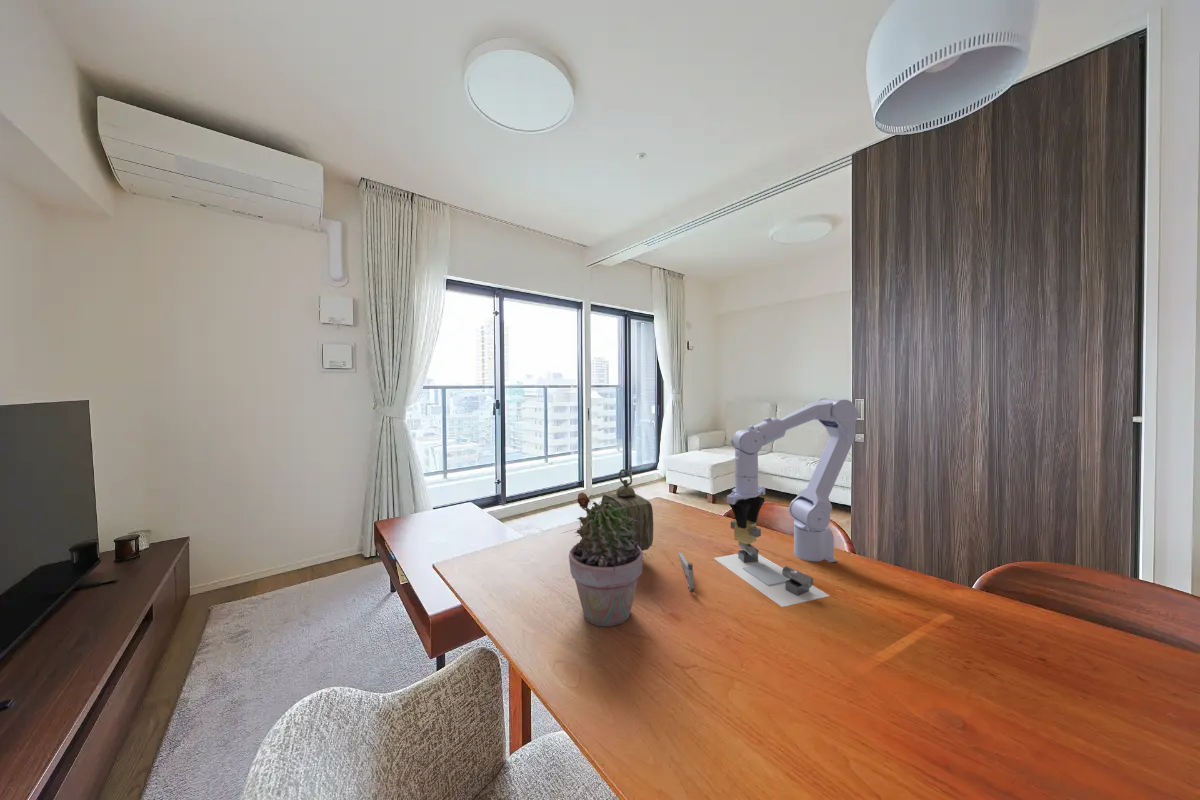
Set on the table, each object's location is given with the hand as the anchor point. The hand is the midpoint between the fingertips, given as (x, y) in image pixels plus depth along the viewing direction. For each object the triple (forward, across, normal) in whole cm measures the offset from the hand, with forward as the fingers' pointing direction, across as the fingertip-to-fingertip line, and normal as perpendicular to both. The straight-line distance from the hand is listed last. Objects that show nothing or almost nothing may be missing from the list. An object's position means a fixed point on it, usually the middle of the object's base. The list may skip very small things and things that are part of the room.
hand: (746, 525), depth 106 cm
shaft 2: (+9, +6, +17) cm, 20 cm away
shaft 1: (+9, +1, +1) cm, 9 cm away
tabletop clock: (+10, +24, -21) cm, 34 cm away
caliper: (+10, +17, -6) cm, 21 cm away
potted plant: (+10, +44, -3) cm, 45 cm away
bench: (+10, +5, +8) cm, 14 cm away
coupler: (+4, 0, 0) cm, 4 cm away
